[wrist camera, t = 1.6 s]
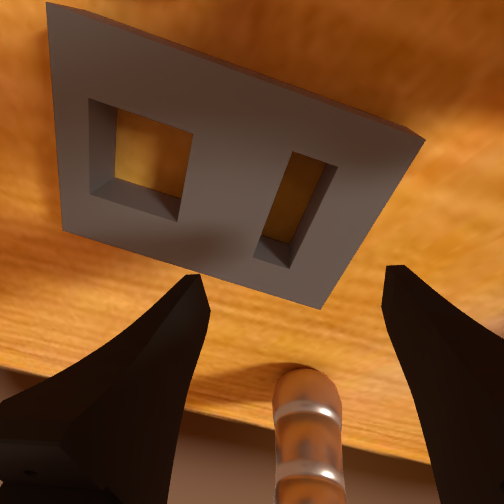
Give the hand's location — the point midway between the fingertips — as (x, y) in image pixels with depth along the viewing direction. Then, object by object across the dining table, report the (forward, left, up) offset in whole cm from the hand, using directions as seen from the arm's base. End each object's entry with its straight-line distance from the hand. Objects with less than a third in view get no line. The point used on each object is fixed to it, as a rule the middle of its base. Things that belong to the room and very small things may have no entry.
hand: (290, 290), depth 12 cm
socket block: (+5, 0, -9) cm, 10 cm away
